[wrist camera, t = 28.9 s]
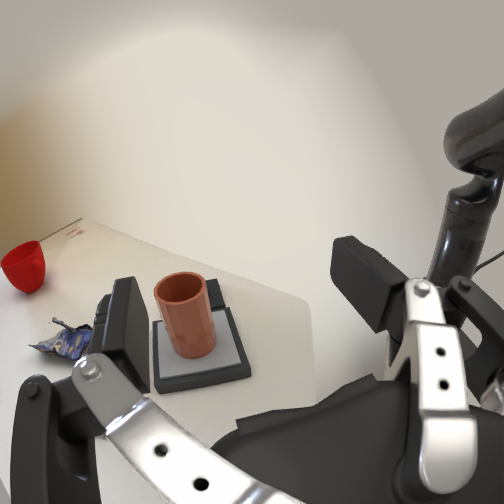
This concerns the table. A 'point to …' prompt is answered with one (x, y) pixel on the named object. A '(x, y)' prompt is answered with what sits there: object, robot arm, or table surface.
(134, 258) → the table surface
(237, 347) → the scale
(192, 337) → the cup
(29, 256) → the ceramic cup
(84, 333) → the snack package
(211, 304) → the pad
